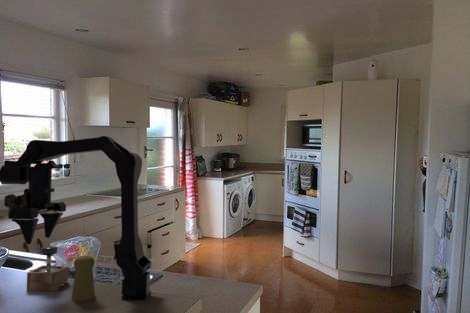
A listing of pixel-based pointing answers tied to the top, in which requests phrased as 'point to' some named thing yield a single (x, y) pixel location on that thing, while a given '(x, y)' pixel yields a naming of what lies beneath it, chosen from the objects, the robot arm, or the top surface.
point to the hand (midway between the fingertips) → (38, 240)
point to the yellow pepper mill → (83, 279)
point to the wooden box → (46, 279)
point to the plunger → (49, 258)
